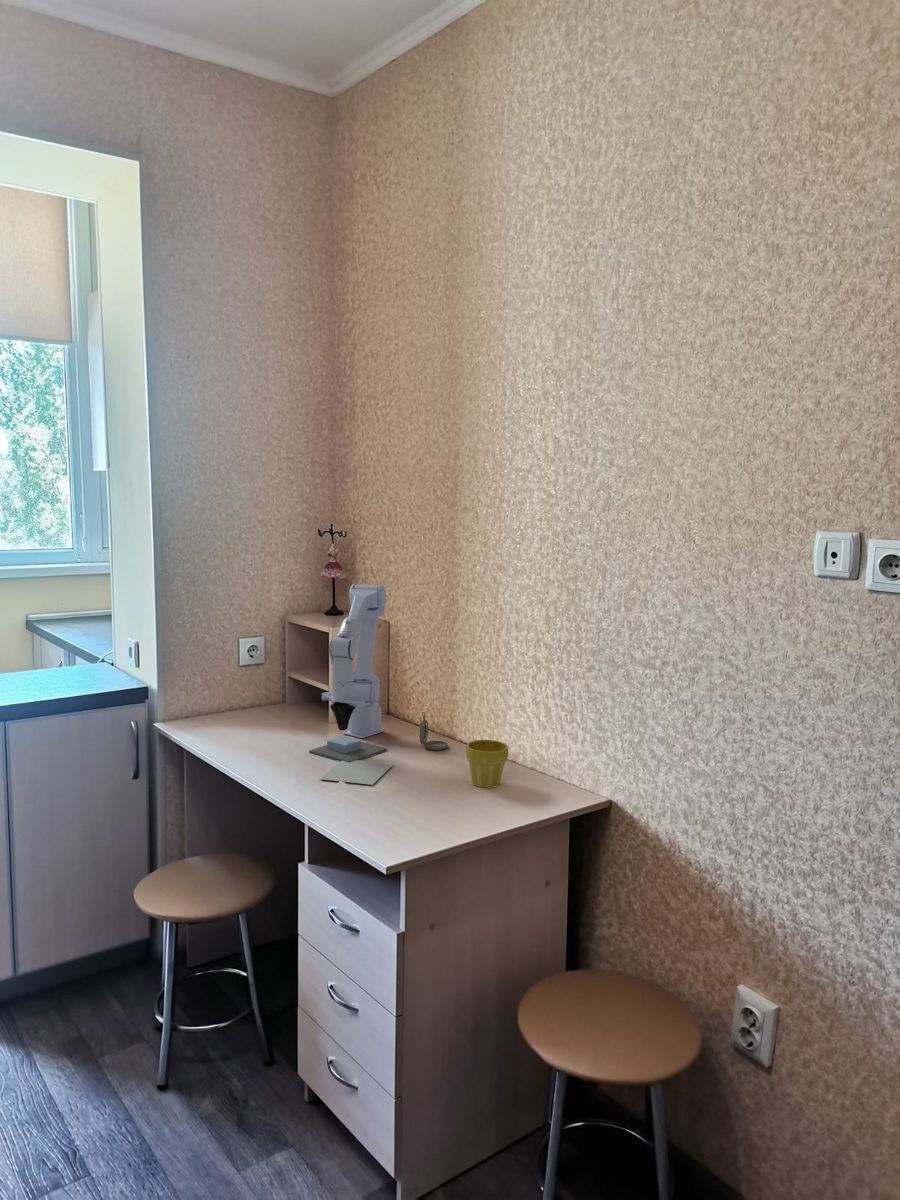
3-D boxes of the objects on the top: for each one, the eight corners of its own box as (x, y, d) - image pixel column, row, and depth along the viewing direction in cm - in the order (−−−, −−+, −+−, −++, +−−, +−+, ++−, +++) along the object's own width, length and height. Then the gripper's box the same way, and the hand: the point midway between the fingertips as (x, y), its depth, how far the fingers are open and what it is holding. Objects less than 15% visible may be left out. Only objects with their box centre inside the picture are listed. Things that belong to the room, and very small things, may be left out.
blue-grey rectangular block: (360, 748, 238) (342, 743, 243) (360, 740, 238) (342, 735, 242) (345, 753, 234) (327, 748, 238) (345, 745, 233) (327, 740, 238)
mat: (347, 740, 248) (347, 738, 248) (387, 750, 239) (387, 748, 239) (309, 752, 236) (309, 750, 236) (349, 763, 227) (349, 761, 227)
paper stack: (428, 769, 224) (428, 767, 224) (399, 803, 200) (399, 800, 200) (344, 761, 230) (344, 758, 230) (305, 792, 206) (305, 790, 206)
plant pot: (514, 781, 215) (515, 743, 214) (495, 793, 206) (496, 754, 205) (478, 774, 220) (478, 736, 219) (457, 785, 212) (458, 747, 210)
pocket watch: (451, 749, 240) (451, 714, 239) (422, 752, 237) (423, 717, 236) (440, 741, 248) (441, 707, 247) (413, 744, 245) (413, 710, 243)
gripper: (313, 679, 237) (313, 727, 239) (352, 687, 228) (352, 737, 230) (331, 675, 243) (332, 722, 244) (370, 682, 234) (370, 731, 236)
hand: (343, 729), depth 238 cm, fingers closed
